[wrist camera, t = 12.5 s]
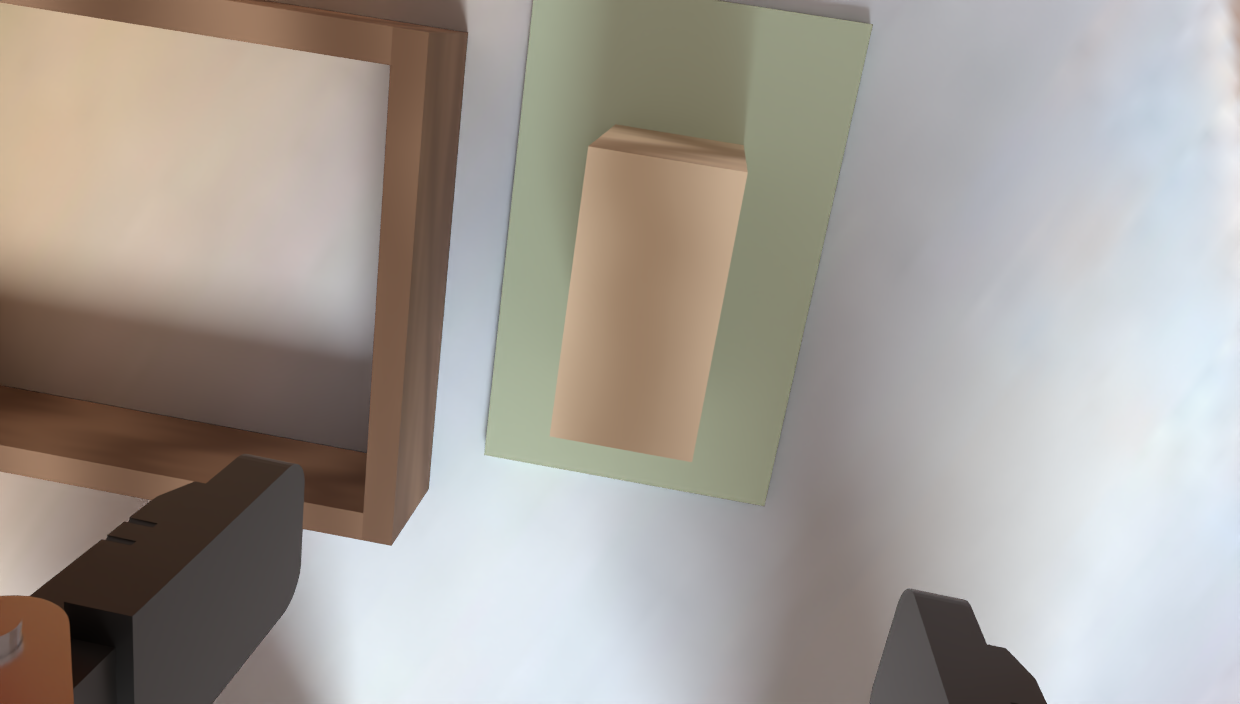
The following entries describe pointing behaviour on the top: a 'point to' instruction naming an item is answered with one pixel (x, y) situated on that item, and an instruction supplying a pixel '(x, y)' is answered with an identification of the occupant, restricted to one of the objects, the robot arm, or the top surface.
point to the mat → (767, 228)
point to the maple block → (647, 289)
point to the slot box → (405, 303)
